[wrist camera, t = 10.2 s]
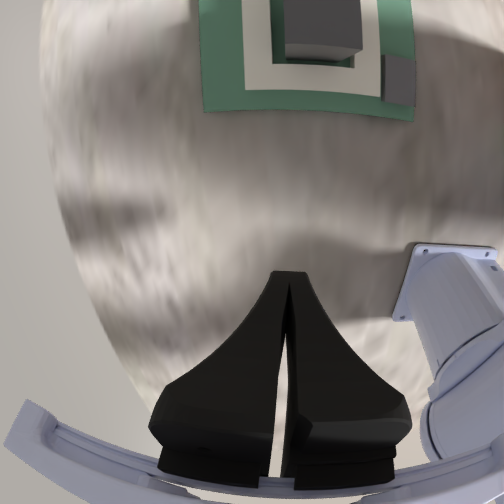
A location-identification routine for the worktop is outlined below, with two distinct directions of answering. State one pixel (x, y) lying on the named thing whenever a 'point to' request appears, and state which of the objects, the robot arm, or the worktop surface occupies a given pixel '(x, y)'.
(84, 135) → the worktop surface
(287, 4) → the plug
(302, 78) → the board
